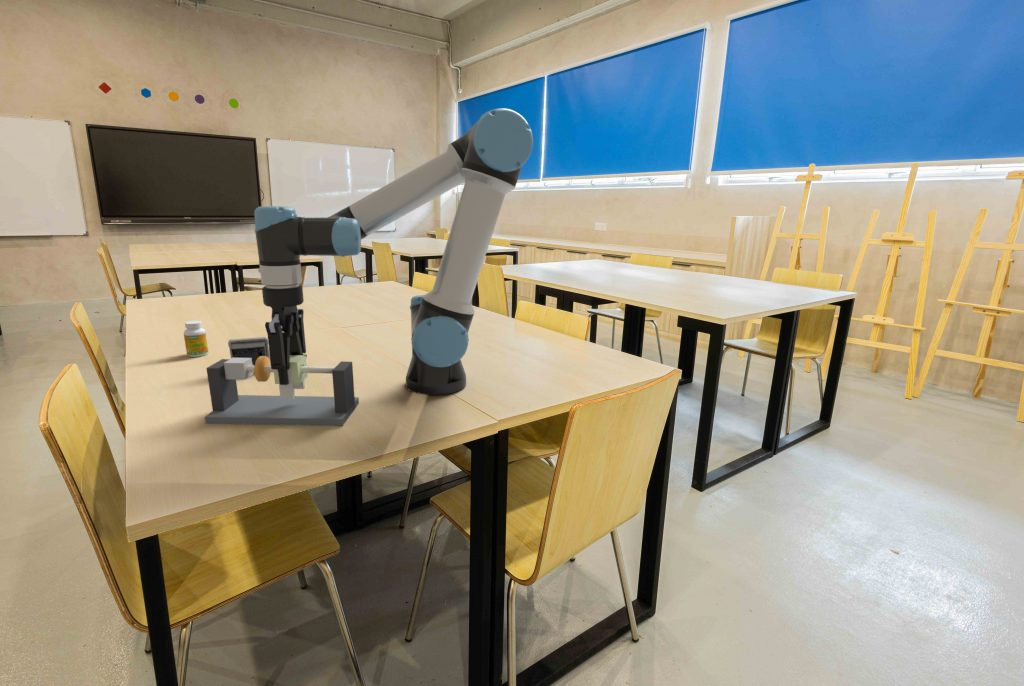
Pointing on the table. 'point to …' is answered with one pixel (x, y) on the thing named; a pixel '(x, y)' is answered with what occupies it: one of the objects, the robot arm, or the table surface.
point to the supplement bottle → (195, 339)
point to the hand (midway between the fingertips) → (292, 392)
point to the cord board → (274, 408)
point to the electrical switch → (249, 348)
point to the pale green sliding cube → (295, 369)
